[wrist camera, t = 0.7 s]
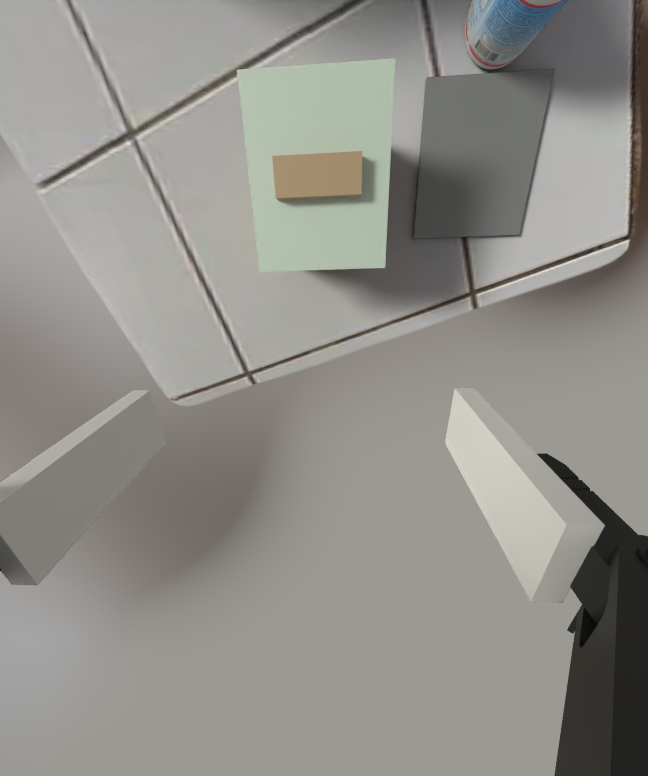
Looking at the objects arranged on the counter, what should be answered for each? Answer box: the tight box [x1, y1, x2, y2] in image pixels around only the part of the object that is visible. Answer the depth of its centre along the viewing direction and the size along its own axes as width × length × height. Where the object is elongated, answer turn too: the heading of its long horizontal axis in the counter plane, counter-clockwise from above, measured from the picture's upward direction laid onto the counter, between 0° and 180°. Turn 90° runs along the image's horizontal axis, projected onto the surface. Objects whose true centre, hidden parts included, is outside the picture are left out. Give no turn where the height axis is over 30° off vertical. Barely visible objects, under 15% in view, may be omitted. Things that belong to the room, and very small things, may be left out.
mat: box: [413, 69, 554, 239], centre depth 29 cm, size 13×11×1 cm
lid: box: [237, 58, 395, 272], centre depth 21 cm, size 12×10×4 cm
